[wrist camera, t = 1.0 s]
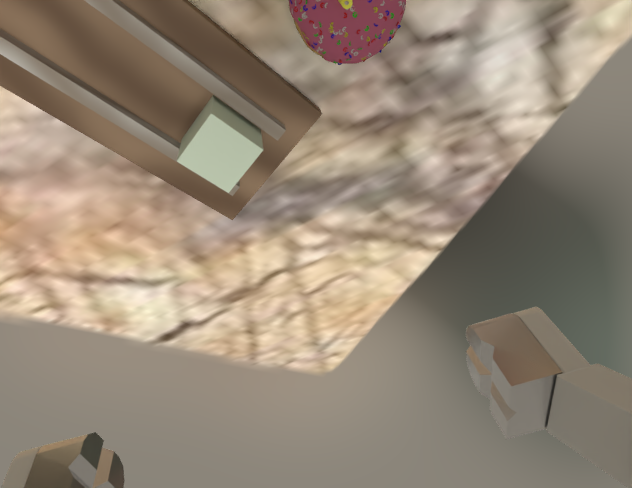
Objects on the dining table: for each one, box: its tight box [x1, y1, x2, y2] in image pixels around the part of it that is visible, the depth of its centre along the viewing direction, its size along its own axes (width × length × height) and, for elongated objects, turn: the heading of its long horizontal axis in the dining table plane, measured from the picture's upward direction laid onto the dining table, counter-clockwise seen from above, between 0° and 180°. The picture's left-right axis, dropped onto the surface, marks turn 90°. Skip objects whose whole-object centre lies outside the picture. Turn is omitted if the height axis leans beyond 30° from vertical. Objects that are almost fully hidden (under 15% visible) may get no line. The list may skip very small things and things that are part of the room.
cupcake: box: [289, 0, 406, 65], centre depth 31 cm, size 9×8×12 cm
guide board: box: [0, 0, 322, 220], centre depth 34 cm, size 14×30×5 cm, turn 49°
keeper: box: [177, 95, 263, 193], centre depth 38 cm, size 5×5×4 cm
